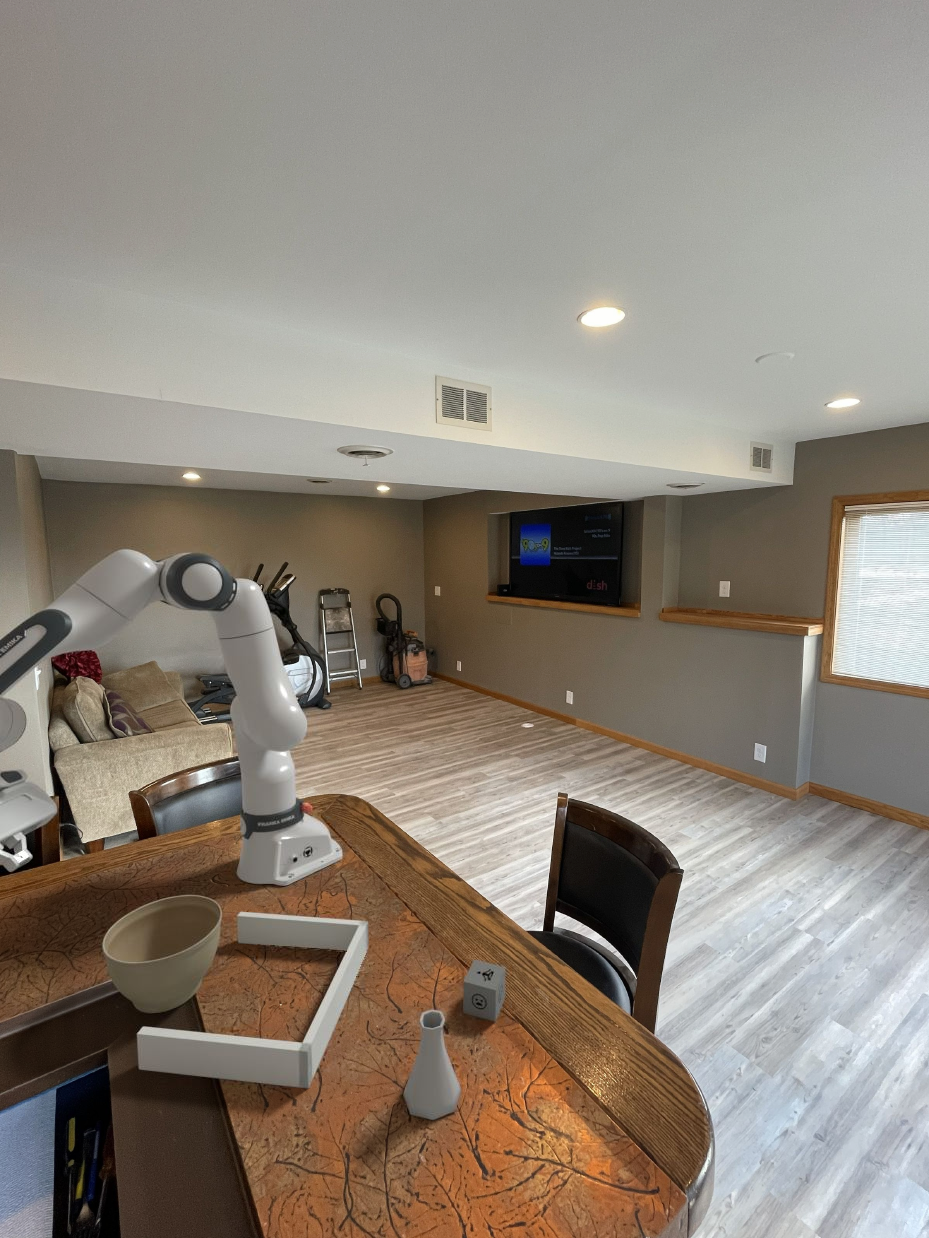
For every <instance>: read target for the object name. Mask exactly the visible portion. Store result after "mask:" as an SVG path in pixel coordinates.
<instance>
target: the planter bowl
mask: <svg viewBox="0 0 929 1238" xmlns="http://www.w3.org/2000/svg"><path fill="white" fill-rule="evenodd" d="M222 917H223V910H222V908H221V905H220V904H219V903H218V901H216V900H214V899H212V898H210V897H206V896H202V895H196V894H184V895H176V896H169V897H165V898H162V899H158V900H155V901H151V902H149V903H147V904H144V905H142V906H139V907H138V908H136V909H134V910H132V911H131V912H129V913H127V914H126V915H124V916H122V917H120V918H119V919H118V920H117V921H116V922H115V923H114V924H113V925H112V926H111V927H110V928H109V929H108V930H107V931H106V933H105V935H104V937H103V940H102V943H101V944H102V946H101V947H102V953H103V956H104V959H105V964H106V969H107V973H108V975H109V977H110V979H111V981H112V983H113V985H114V987H115V988H116V989H117V990H118V992H119V993H120V994H121V995H123V996H124V997H125V998H126V999H128V1000H130V1001H131V1002H132V1004H133V1006H134V1007H135V1009H136V1010H138V1011H139V1012H142V1013H145V1014H158V1013H164V1012H167V1011H170V1010H173V1009H175V1008H178V1007H179V1006H181V1005H183V1004H185V1003H186V1002H188V1001H189V1000H190V999H192V998H193V996H194V995H195V994H196V993H197V992H198V990H199V989H200V987H201V985H202V982H203V978H204V977H205V975H206V974H207V972H208V971H209V969H210V967H211V965H212V963H213V961H214V958H215V955H216V952H217V950H218V946H219V943H220V942H219V941H220V937H221V923H222V919H223V918H222Z"/></svg>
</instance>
